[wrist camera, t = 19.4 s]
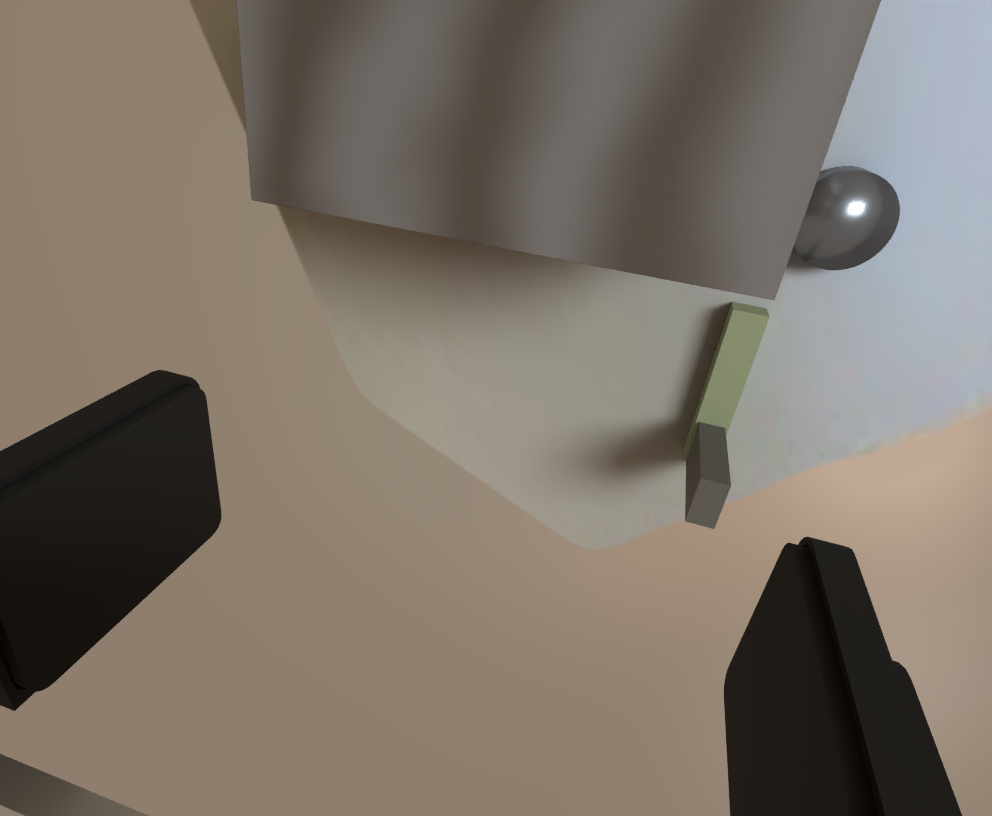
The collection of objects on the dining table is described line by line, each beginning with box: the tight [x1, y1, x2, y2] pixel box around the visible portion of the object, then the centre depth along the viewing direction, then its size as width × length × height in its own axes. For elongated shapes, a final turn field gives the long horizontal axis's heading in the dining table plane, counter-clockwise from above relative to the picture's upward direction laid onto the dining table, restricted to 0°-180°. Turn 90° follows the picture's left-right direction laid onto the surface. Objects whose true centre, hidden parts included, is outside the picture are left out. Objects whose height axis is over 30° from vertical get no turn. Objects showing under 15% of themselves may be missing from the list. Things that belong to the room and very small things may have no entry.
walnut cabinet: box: [236, 0, 881, 300], centre depth 27 cm, size 21×10×15 cm, turn 83°
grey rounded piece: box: [793, 166, 900, 270], centre depth 32 cm, size 5×5×2 cm
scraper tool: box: [683, 302, 769, 529], centre depth 35 cm, size 2×10×8 cm, turn 173°
